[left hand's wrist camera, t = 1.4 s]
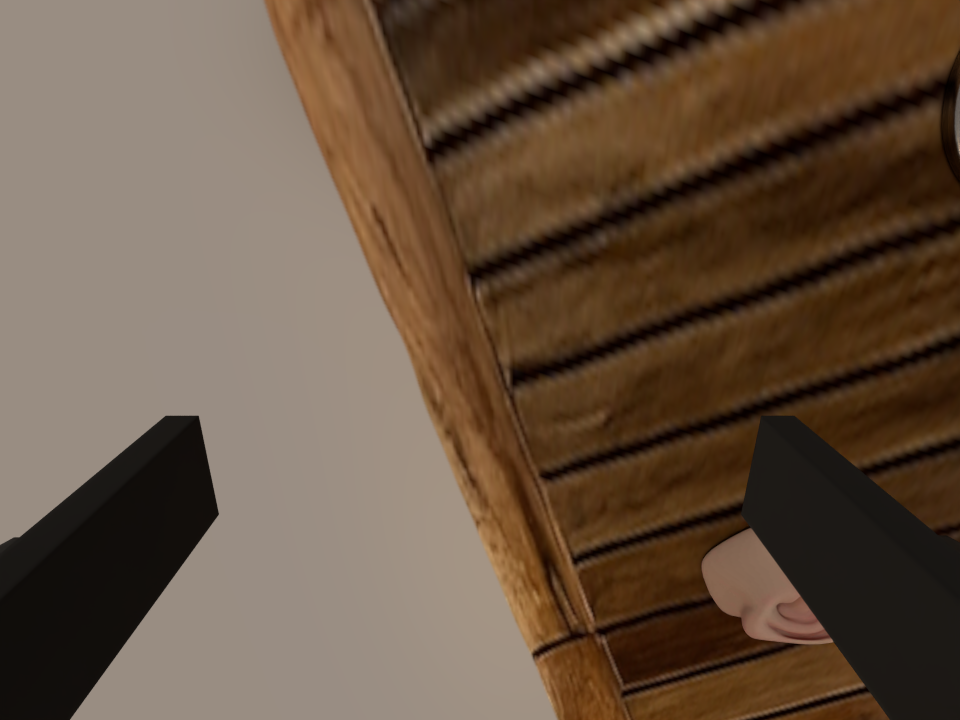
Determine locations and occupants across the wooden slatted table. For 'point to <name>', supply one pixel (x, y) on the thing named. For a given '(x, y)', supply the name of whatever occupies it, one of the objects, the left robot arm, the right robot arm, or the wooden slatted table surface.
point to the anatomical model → (759, 592)
